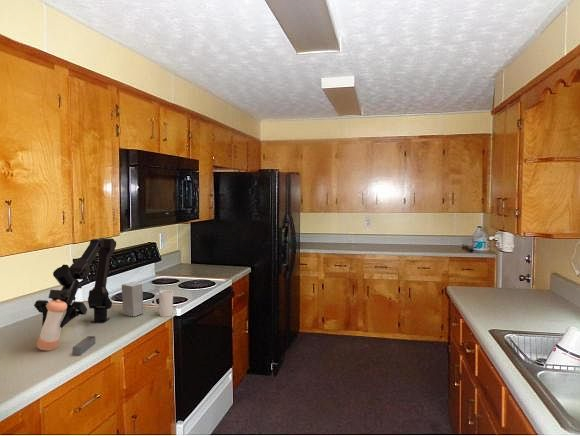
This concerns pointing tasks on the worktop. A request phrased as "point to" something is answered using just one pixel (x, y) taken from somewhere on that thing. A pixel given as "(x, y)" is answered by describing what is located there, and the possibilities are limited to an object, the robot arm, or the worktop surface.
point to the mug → (164, 303)
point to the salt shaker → (52, 325)
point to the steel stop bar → (83, 345)
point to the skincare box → (132, 299)
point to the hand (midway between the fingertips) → (51, 326)
